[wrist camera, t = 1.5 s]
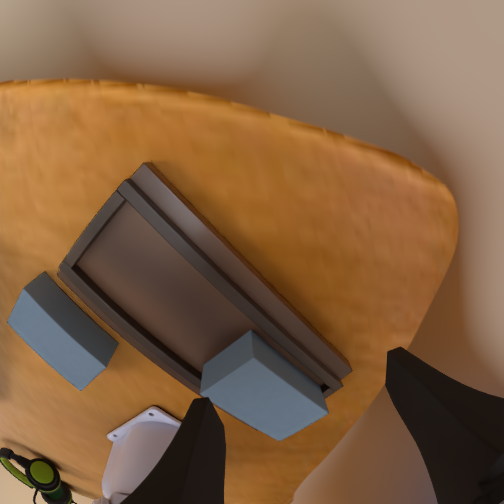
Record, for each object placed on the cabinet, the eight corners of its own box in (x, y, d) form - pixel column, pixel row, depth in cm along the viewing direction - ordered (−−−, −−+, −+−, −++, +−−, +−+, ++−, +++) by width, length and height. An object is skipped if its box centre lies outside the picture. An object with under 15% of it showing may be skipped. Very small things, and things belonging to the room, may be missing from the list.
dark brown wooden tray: (256, 421, 24) (257, 437, 22) (64, 268, 18) (50, 279, 16) (348, 361, 22) (356, 377, 20) (149, 161, 16) (139, 162, 14)
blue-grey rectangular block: (275, 414, 22) (279, 441, 19) (202, 364, 20) (199, 394, 17) (320, 385, 21) (329, 413, 18) (251, 328, 19) (253, 357, 16)
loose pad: (92, 368, 21) (80, 391, 18) (25, 304, 19) (6, 322, 16) (119, 343, 20) (106, 367, 17) (44, 271, 18) (23, 287, 15)
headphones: (103, 545, 24) (9, 502, 21) (111, 507, 33) (23, 469, 30) (85, 527, 19) (-27, 466, 17) (98, 477, 28) (-5, 428, 26)
